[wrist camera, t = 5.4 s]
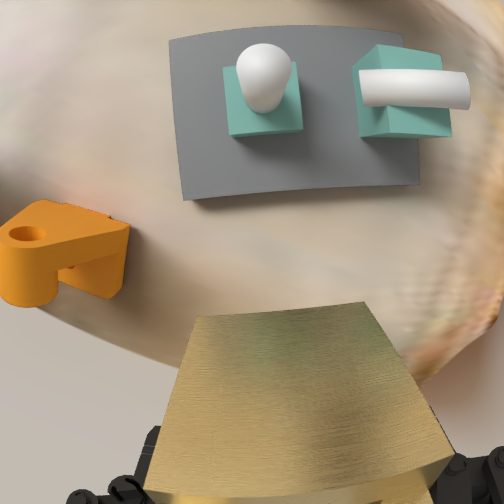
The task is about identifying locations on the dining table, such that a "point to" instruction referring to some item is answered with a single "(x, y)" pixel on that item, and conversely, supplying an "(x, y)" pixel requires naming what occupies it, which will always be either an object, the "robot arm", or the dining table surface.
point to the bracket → (60, 253)
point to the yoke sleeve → (295, 415)
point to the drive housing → (305, 108)
